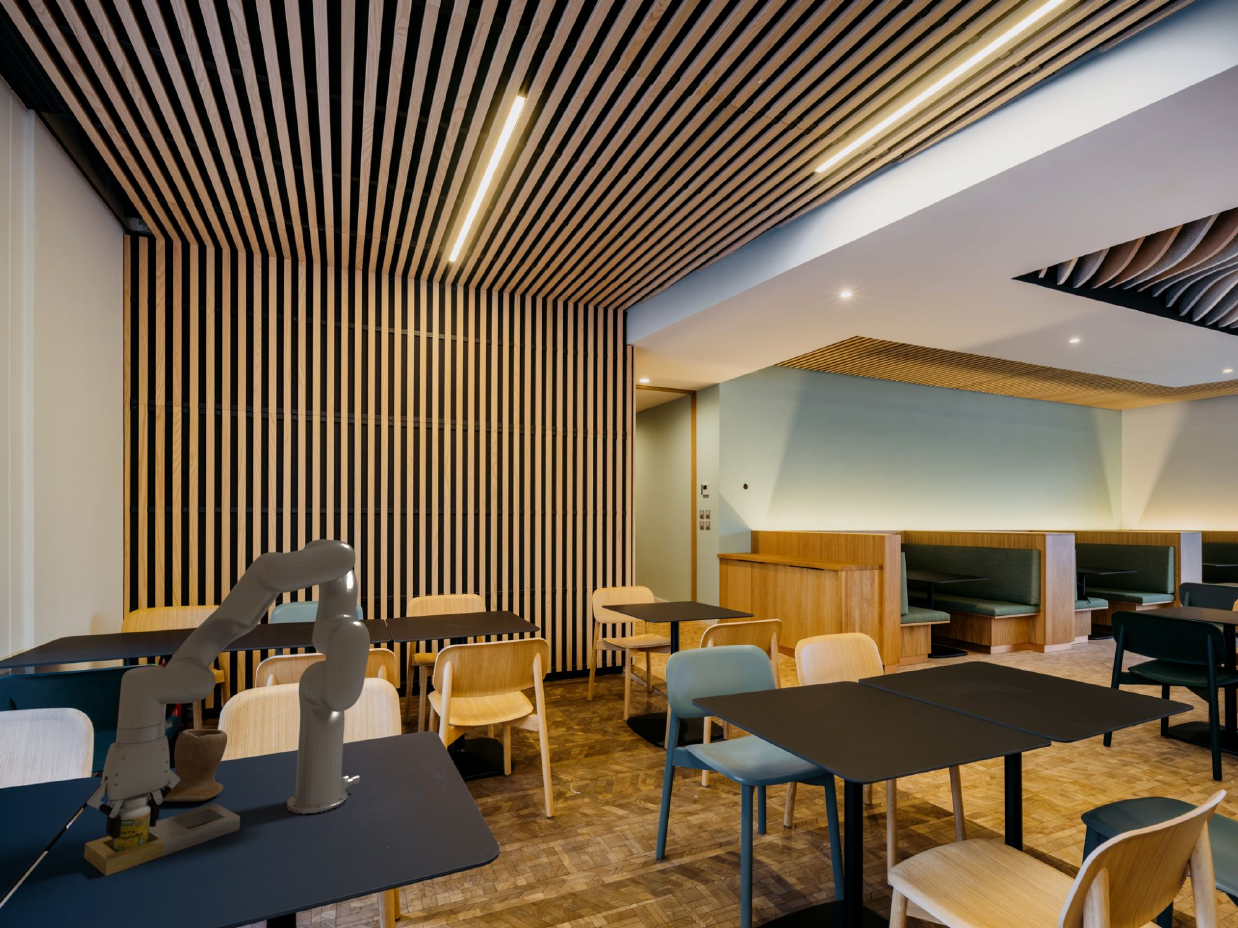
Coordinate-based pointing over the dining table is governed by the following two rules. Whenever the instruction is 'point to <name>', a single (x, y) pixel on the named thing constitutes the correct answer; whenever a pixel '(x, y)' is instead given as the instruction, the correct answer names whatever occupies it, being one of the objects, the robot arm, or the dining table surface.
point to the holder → (164, 838)
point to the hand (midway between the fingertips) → (132, 829)
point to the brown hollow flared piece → (197, 764)
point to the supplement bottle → (133, 823)
